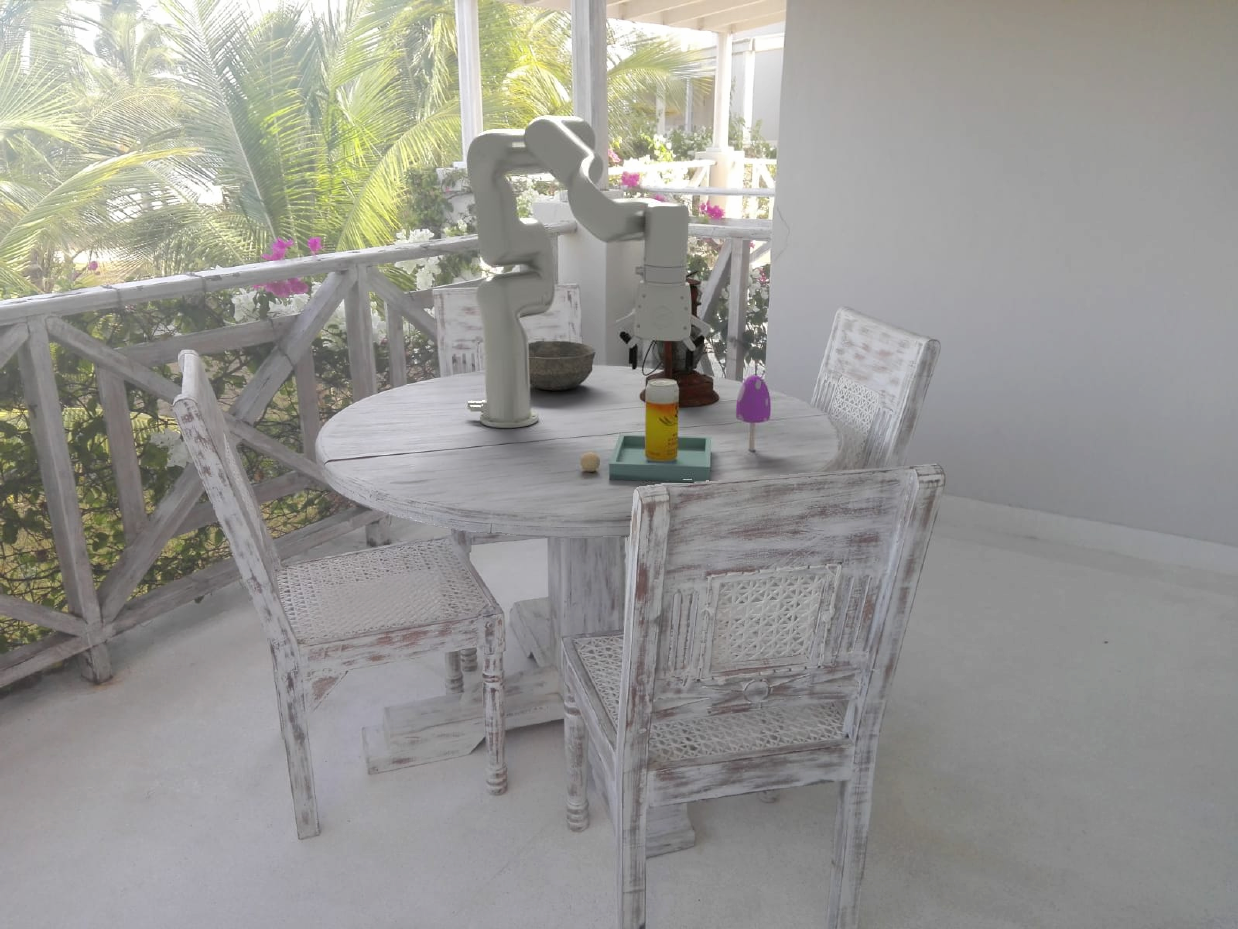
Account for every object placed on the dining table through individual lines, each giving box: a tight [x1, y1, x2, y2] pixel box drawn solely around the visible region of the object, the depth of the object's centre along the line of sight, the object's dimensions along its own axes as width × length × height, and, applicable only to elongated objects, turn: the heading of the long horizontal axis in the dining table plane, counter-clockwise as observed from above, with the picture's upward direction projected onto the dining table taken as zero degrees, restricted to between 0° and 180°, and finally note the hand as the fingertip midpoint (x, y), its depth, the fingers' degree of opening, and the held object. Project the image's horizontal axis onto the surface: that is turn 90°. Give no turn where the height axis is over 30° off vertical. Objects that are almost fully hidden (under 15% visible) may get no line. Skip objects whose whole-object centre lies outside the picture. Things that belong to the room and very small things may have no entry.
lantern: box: [639, 270, 720, 409], centre depth 220 cm, size 19×19×30 cm
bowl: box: [528, 340, 597, 391], centre depth 231 cm, size 21×21×10 cm
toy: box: [735, 374, 772, 452], centre depth 184 cm, size 7×7×15 cm
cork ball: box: [580, 451, 601, 473], centre depth 174 cm, size 4×4×4 cm
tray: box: [608, 433, 712, 483], centre depth 177 cm, size 18×18×3 cm
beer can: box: [644, 379, 679, 464], centre depth 175 cm, size 6×6×15 cm
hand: (660, 369), depth 172 cm, fingers open, 9 cm apart
